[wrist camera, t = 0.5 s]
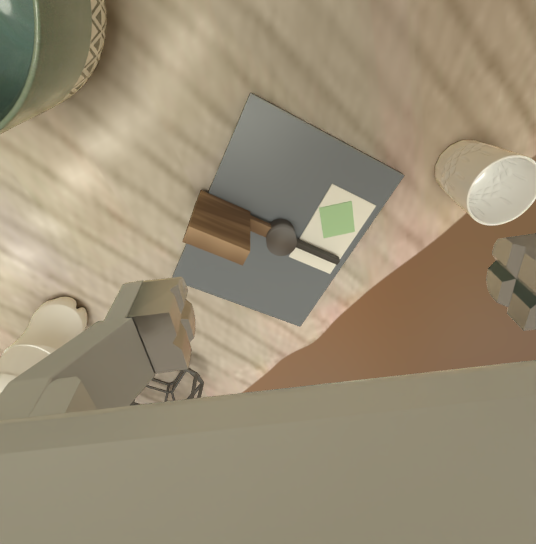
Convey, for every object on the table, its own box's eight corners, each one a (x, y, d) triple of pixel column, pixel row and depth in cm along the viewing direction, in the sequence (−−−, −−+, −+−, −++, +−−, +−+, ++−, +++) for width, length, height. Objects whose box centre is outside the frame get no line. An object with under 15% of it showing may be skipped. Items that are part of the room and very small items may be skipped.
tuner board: (250, 92, 43) (250, 93, 42) (402, 173, 49) (405, 176, 48) (172, 276, 56) (170, 281, 55) (299, 323, 61) (300, 328, 60)
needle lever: (203, 183, 47) (192, 218, 38) (343, 245, 53) (363, 289, 43) (192, 209, 49) (179, 249, 40) (329, 267, 55) (345, 313, 45)
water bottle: (80, 334, 61) (-11, 490, 40) (36, 313, 58) (-86, 468, 37) (99, 306, 58) (13, 459, 37) (55, 283, 55) (-66, 433, 34)
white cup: (487, 187, 50) (535, 217, 42) (428, 200, 51) (464, 231, 42) (494, 128, 46) (549, 147, 38) (430, 142, 47) (470, 164, 38)
